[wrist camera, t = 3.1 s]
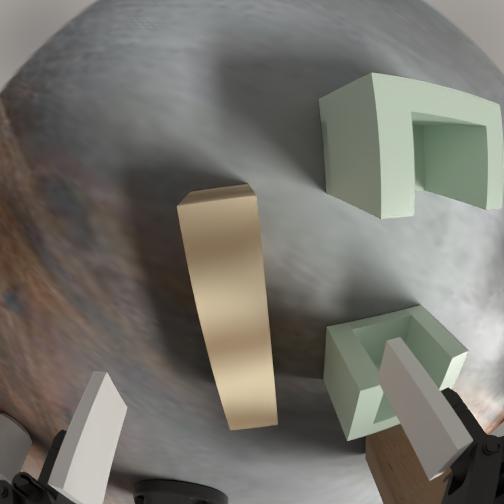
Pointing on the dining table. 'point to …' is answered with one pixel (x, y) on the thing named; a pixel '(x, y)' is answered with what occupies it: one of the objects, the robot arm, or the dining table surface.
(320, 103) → the end caps
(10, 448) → the can
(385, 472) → the wooden block
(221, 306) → the slat
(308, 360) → the dining table surface
